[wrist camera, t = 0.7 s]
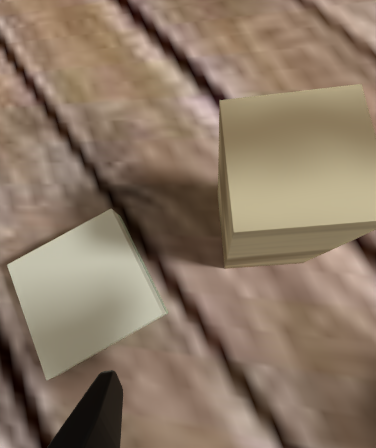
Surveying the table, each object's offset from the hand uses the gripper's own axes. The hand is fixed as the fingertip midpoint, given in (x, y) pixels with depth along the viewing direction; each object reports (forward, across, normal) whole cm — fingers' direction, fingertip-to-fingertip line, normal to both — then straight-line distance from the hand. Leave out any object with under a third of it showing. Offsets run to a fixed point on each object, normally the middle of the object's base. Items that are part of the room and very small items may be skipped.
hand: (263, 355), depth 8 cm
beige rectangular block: (+14, -3, +4) cm, 15 cm away
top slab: (+12, +11, +5) cm, 17 cm away
